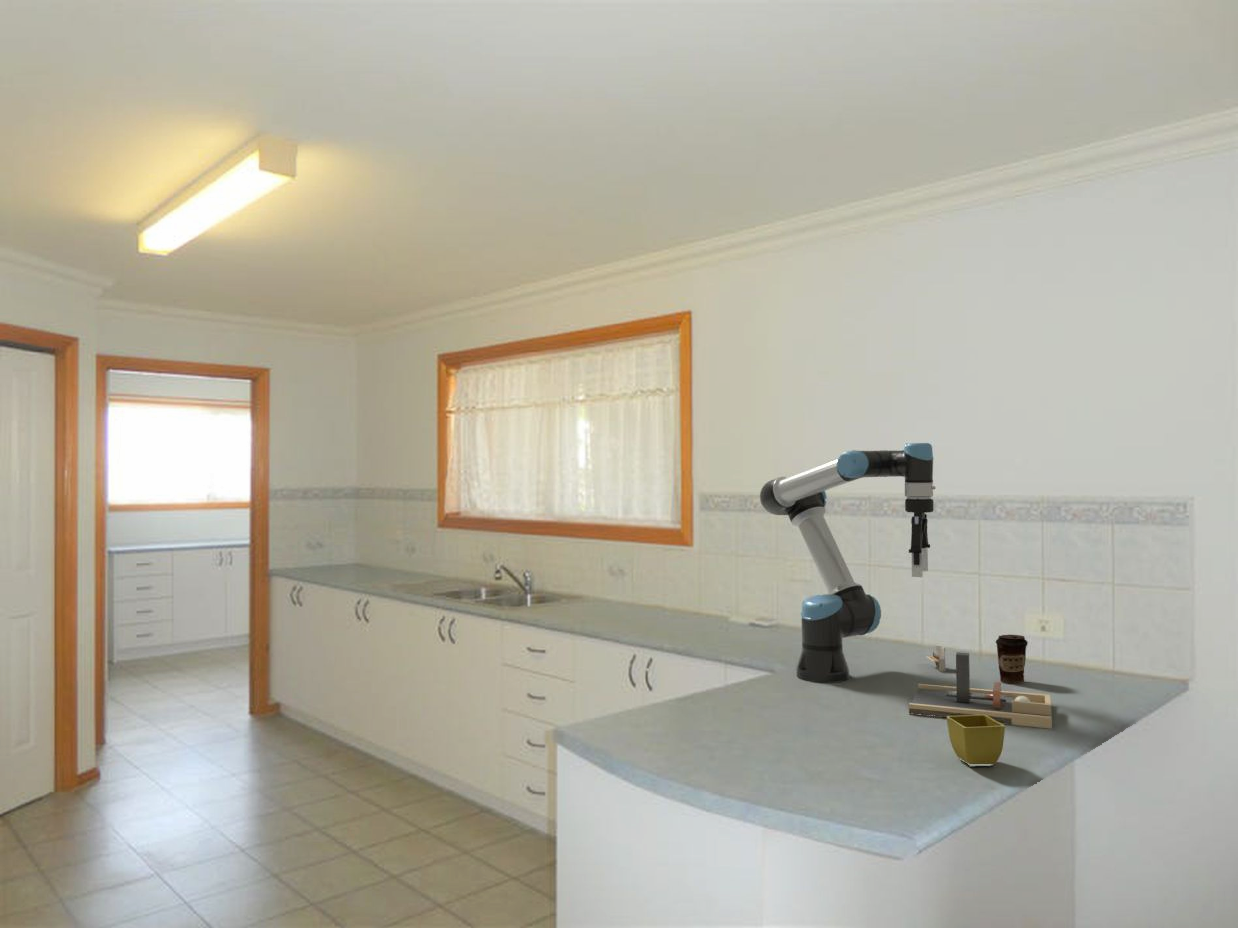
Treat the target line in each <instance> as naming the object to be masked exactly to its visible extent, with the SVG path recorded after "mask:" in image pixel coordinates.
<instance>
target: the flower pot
mask: <svg viewBox="0 0 1238 928" xmlns="http://www.w3.org/2000/svg"><path fill="white" fill-rule="evenodd" d="M946 722H947V730H948V736H949V741H950V744H951V747H952V750H953V751H954V753H955V755H956V756H957V758H958V757H959V758H961V759H962V760H964V761H965V762H967V763H969V764H994V765H996V763H997V762H998V761H999V759H1000V756H1001V754H1002V751H1003V748H1004V741H1005V740H1004V739H1005V730H1006V729H1005V728H1006V726H1005V725H1006V724H1001V723H999V722H997V721H995V720H993V719H992V718H990V717H988V716H986V715H963V716H947V718H946ZM959 758H958V759H959Z"/></svg>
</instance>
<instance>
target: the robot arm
mask: <svg viewBox="0 0 1238 928" xmlns="http://www.w3.org/2000/svg"><path fill="white" fill-rule="evenodd" d="M933 472H934V454H933V445H932V444H931V443H929V442H910V443H905V445H904V449H903V450H887V449H886V450H885V449H884V450H856V449H854V450H853V449H852V450H849V451H844V452H842V453H841V454H840V455H839V457H838V458H835V459H833V460H831V461H828V462H826V463H823V464H819V465H817V466H814V467H812V468H809V469H807V470H804V471H802V472H799V473H797V474H794V475H790V476H788V477H786V476H780V477H777V478H774V479H771V480H769V481H767V482H766V483H765V484H764V485H762V488H761V490H760V493H759V499H760V500H759V501H760V504H761V505H762V507H763V508H764V510H766V511H767V512H768V513H770V514H771V515H774V516H788V518H789V520H790V523H791V525H793V526H795V527H798V529H799V531H800V533H801V536H802V538H803V540H804V543H805V544H806V547H807V548H808V551H809V553H810V555H811V557H812V560H813V562H814V564H815V566H816V569H817V571H818V573H819V575H820V577H821V579H822V581H823V583H824V586H825V588H826V590H827V593H828V594H826V593H825V594H817V595H811V596H809V597H807V598H805V599H804V600H803V601H802V604H801V612H800V616H801V643H802V644H801V645H802V646H801V647H802V648H801V652H800V656H799V659H798V662H797V665H796V676H797V677H798V678H800V679H801V680H805V681H810V682H815V683H816V682H817V683H820V682H821V683H837V682H842V681H846V680H849V678H850V668H849V665H848V663H847V661H846V657H845V654H844V650H843V639H844V638H849V637H855V636H864V635H866V634H871V633H873V632H874V631H875V630H877V628H878V627H879V624H880V622H881V621H880V620H881V619H882V609H881V605H880V603H879V601H878V600H877V599H876V598H875V597H874V596H872V595H870V594H867V593H866V592H865V589H864V588H863V586H862V584H859V583H857V582H855V581H854V579H853V576H852V574H851V571H850V570H849V567H848V566H847V563H846V562H845V559H844V557H843V554H842V553H841V550H840V548H839V547H838V544H837V543H836V542H837V541H836V539H835V538H834V536H833V534H832V532H831V530H830V527H829V525H828V523H827V521H826V519H825V517H824V516H825V513H826V506H827V505H826V504H827V500H826V499H827V494H826V493H827V492H826V491H827V490H830V489H833V488H836V487H838V486H843V485H844V484H847V483H850V482H853V481H856V480H858V479H862V478H886V477H889V478H890V477H895V478H896V477H902V478H903V477H904V497H905V498H906V499H904V506H905V507H904V509H905V512H906V513H913V516H911V521H910V522H911V523H910V524H911V538H910V541H911V542H910V548H909V549H908V553H909V554H911V578H912V577H913V578H923V576H924V575H923V572H928V571H929V564H928V563H929V560H928V559H929V555H928V554H929V553H928V551H929V549H930V548H931V544H929V537H928V535H929V534H928V521H929V520H928V518H927V516H928V515H927V513H928V514H929V513H933V512H934V508H935V507H934V499H933V496H934V490H936V486H935V485H934V480H933V476H934V473H933Z"/></svg>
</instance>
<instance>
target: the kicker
mask: <svg viewBox="0 0 1238 928" xmlns="http://www.w3.org/2000/svg"><path fill="white" fill-rule="evenodd" d="M970 671H971V670H970V653H969V652H959V651H957V652H956V653H955V672H956V673H955V675H956V676H955V677H956V678H955V679H956V680H955V681H956V683H955V684H956V686H955V687H956V691H950V690H946V696H947V697H957V702H966V703H969V702H970V699H979V700H989V701H993V708H997V709H1000V708H1001V702H1006V695H1001V691H1002V682H1001V681H1000V682H998V681H994V682H993V688H992V690H993V694H984V693H973V692H970V688H971V687H970V686H971V682H970V681H971V680H970V678H971V677H970V676H971V675H970V674H971V673H970Z"/></svg>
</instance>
